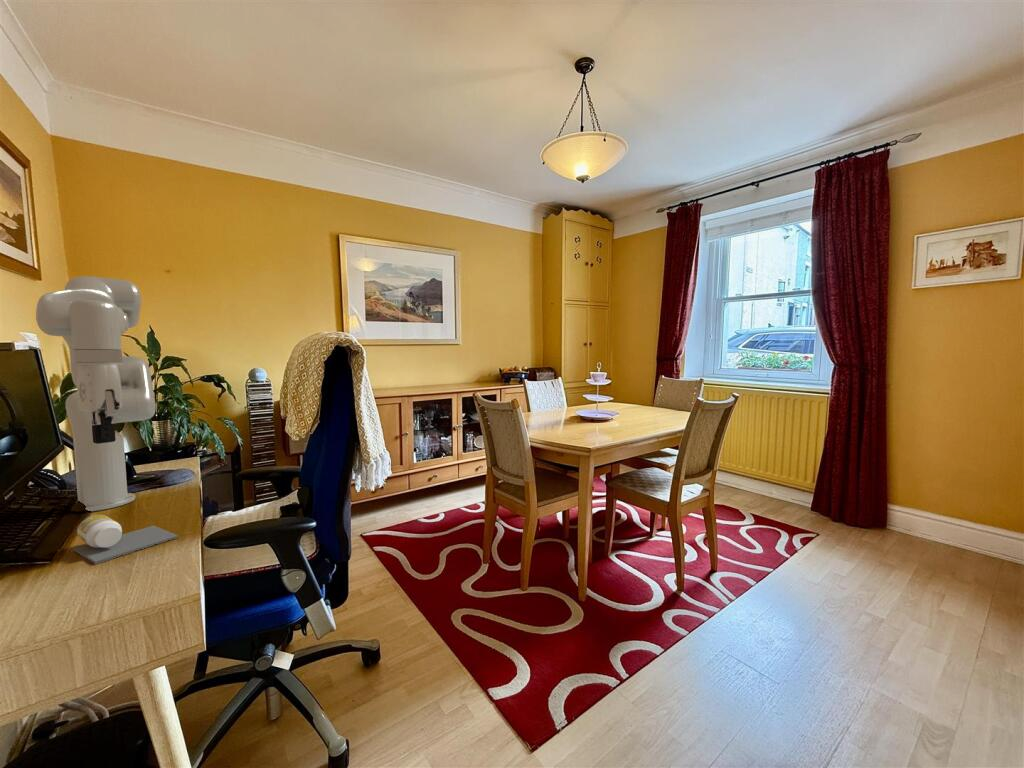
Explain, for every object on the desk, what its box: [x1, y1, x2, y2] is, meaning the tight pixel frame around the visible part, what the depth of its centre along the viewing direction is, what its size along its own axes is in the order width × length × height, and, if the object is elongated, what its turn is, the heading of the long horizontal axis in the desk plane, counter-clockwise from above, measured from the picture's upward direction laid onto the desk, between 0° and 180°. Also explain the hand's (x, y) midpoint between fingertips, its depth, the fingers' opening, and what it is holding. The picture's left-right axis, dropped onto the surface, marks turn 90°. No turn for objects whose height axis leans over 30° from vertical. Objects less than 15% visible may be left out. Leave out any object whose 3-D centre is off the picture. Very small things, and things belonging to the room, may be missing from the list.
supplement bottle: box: [76, 514, 123, 548], centre depth 84 cm, size 5×5×10 cm
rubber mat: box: [73, 525, 179, 565], centre depth 86 cm, size 12×13×1 cm
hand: (104, 442), depth 89 cm, fingers closed
